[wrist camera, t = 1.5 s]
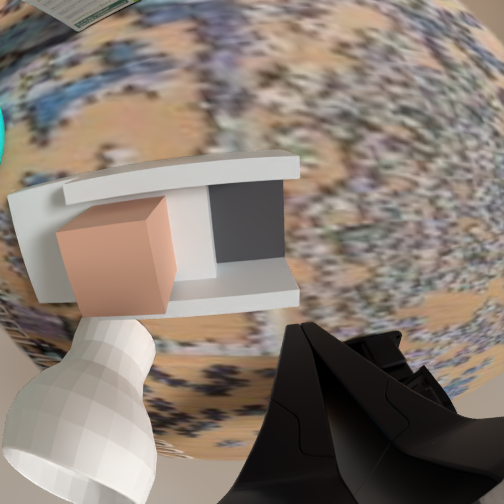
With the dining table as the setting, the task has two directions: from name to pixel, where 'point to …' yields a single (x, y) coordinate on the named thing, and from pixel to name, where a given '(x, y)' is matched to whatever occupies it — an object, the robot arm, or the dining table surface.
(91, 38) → the dining table surface
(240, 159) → the grey channel
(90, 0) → the syrup box
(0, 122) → the donuts
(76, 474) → the cup
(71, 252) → the terracotta cube
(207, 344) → the dining table surface
